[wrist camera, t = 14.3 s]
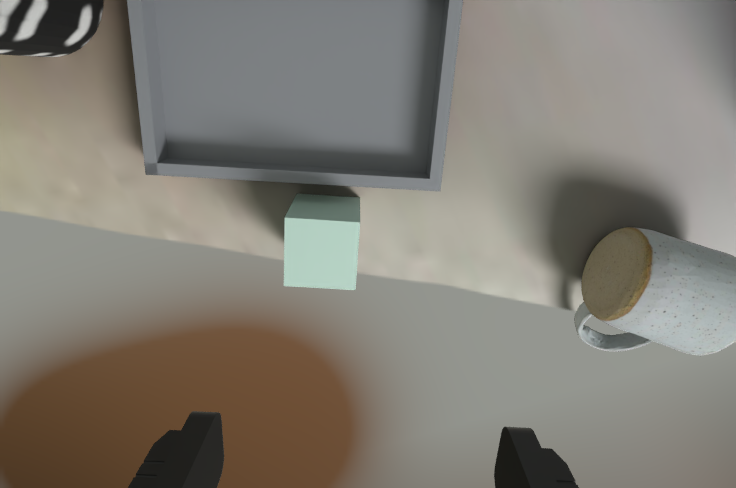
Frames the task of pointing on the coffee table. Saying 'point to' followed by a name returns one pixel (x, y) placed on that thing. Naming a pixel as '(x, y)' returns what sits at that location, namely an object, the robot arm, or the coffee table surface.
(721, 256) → the ceramic mug
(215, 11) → the gray tray
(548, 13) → the coffee table surface
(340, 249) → the sage block
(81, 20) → the white-spotted black cylinder
